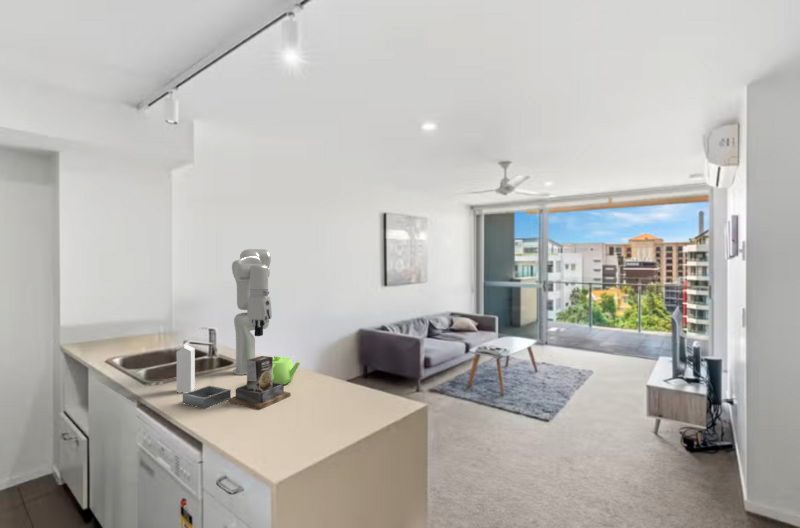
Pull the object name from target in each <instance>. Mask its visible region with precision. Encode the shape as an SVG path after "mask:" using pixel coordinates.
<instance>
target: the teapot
mask: <svg viewBox="0 0 800 528" xmlns="http://www.w3.org/2000/svg"><path fill="white" fill-rule="evenodd" d="M300 365H301V362H297V361H296V362H295V364H293V360H292V358H289V357H288V356H281V355H275V356H273V371H272V382H276V383H281V384H284V385H287V384H288V383H290V382H292V380H293V379H294V376H295V373H296V372H297V370H298V368H299V366H300Z"/></svg>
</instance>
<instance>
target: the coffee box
mask: <svg viewBox="0 0 800 528" xmlns="http://www.w3.org/2000/svg"><path fill="white" fill-rule="evenodd" d="M273 358H274V356H267V355H266V356H265V355H260V356H258V357H257V356H256V357H255V358H253V359H249V360H247V375H246V385H247V390H250V391H255V392H260V393H261V392H263V391H266V390H268V389H271V388H272V371H273Z"/></svg>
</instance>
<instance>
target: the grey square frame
mask: <svg viewBox="0 0 800 528" xmlns="http://www.w3.org/2000/svg"><path fill="white" fill-rule="evenodd" d="M231 391H232V390H231V389H228V388H223V387H218V386H215V385H207V386H203V387H200V388H198V389H194V390H193V391H191V392H188V393H182V404H183V403H185V404H189V405H188V406H190V405H193V406H192V407H194V406H197V407H196V408H198V407H200V408H199V409H202V408H204V409H203V410H206V409H208V408H211V407H214V406H216V405H219V404H221V403H224V402H226V400H227V401H228V399H229V398H232V396H231V393H232V392H231ZM208 395H211V396H208ZM205 396H206V397H205ZM203 397H204V398H203ZM223 401H224V402H223ZM220 402H221V403H220ZM218 403H219V404H218ZM185 404H184V405H185ZM215 404H216V405H215ZM213 405H214V406H213ZM210 406H211V407H210ZM205 408H206V409H205Z"/></svg>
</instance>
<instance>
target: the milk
mask: <svg viewBox="0 0 800 528" xmlns="http://www.w3.org/2000/svg"><path fill="white" fill-rule="evenodd" d="M195 355H196V349H195V347H193V346H191V345H189V342H188V341H186V342H185V343H183V347H181V348H180V349H178V350H177V351H176V393H177V392H191V391H192V390H193V389H194V388H195V389H196V369H195V368H196V360H195V359H196V356H195ZM195 389H194V390H195ZM194 390H193V391H194Z"/></svg>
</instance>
